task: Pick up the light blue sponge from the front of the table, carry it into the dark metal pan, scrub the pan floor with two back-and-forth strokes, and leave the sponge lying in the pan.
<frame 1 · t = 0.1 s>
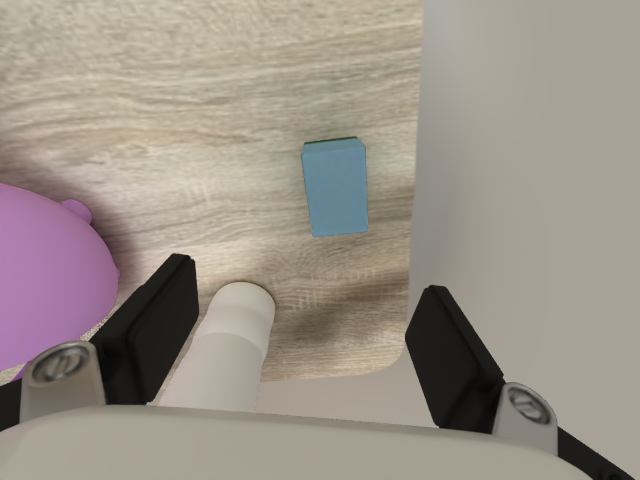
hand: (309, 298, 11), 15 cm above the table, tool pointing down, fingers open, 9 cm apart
sponge: (333, 177, 24), on the table
water bottle: (246, 302, 31), on the table
teapot: (56, 235, 27), on the table
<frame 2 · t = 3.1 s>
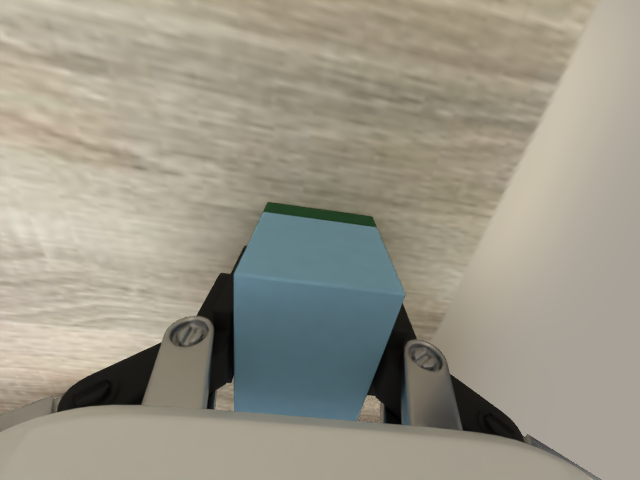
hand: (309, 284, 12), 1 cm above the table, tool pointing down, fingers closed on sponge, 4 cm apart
sponge: (310, 272, 13), on the table, touching gripper
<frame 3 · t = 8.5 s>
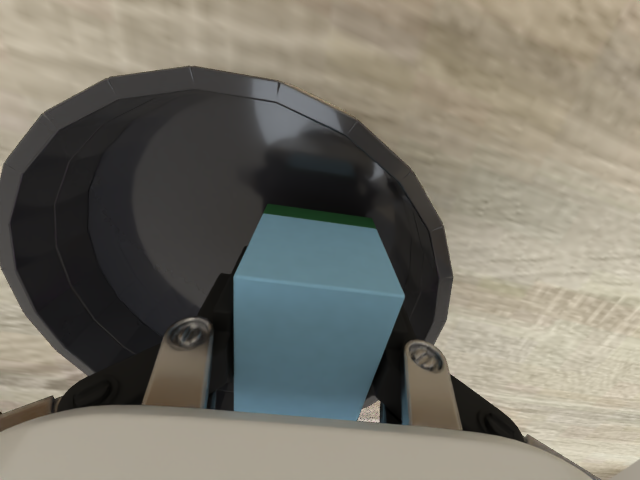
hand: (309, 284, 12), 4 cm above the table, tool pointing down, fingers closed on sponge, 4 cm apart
pan: (256, 262, 16), on the table
sponge: (310, 274, 13), point 3 cm above the table, touching gripper
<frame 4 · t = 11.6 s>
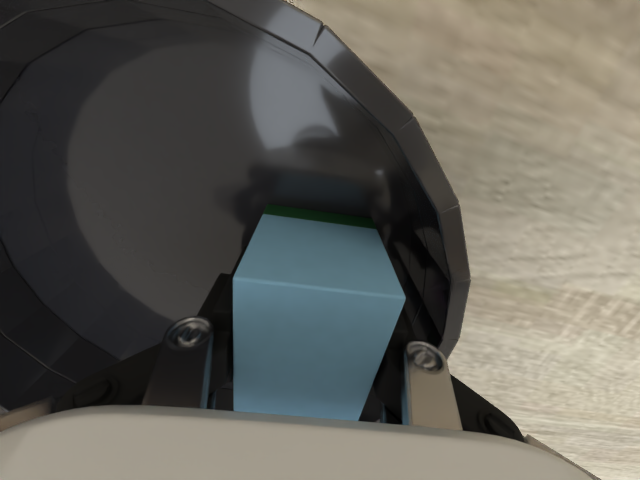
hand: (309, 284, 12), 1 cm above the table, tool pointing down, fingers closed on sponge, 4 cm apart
pan: (217, 261, 13), on the table
sponge: (310, 274, 13), point 1 cm above the table, touching gripper
when the fingers open (1 cm above the table, at t = 14.3 s): sponge stays where it is, resting on pan.
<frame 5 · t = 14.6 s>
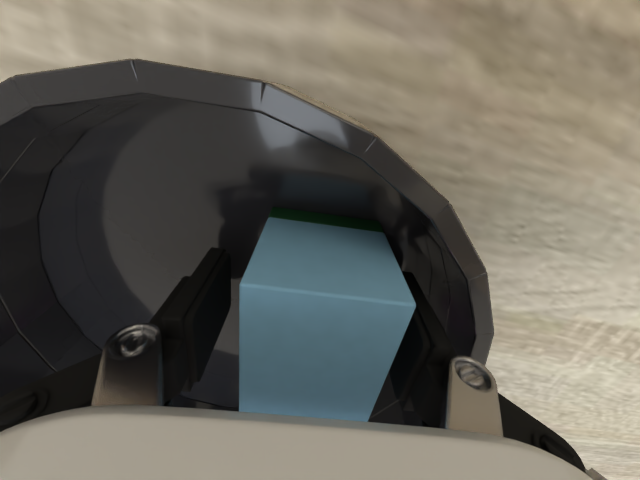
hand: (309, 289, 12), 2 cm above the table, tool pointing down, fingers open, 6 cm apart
pan: (246, 295, 14), on the table
sponge: (315, 277, 12), point 1 cm above the table, touching pan
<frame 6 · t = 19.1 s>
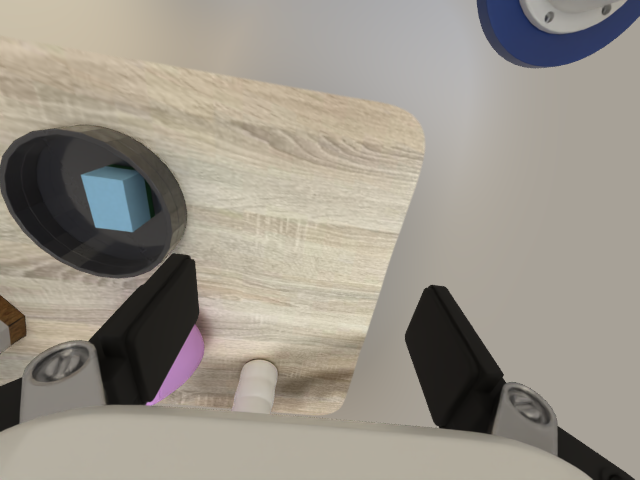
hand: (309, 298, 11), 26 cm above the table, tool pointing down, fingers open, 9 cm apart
pan: (114, 201, 37), on the table
sponge: (134, 191, 35), point 1 cm above the table, touching pan
water bottle: (260, 368, 54), on the table
teapot: (167, 320, 47), on the table
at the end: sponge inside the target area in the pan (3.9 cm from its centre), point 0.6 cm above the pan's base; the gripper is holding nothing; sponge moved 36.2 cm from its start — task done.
